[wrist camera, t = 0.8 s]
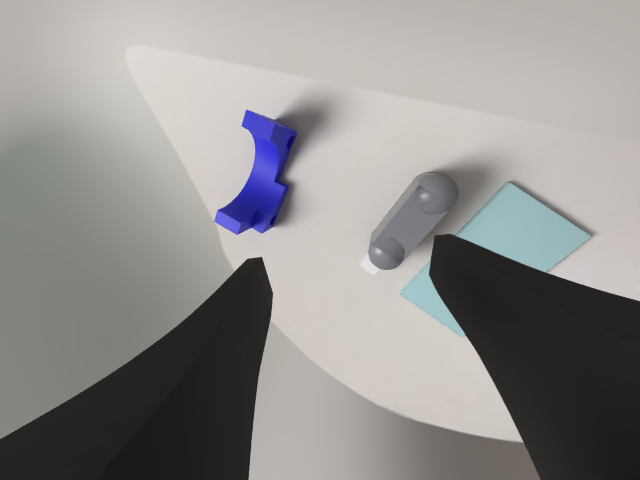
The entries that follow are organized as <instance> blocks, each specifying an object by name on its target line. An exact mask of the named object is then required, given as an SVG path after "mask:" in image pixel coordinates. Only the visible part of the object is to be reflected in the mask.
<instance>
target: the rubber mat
mask: <svg viewBox="0 0 640 480" xmlns="http://www.w3.org/2000/svg"><path fill="white" fill-rule="evenodd" d="M455 236H458V237H460V238H463V239H465V240H467V241H470V242H472V243H475V244H477V245H479V246H482V247H484V248H486V249H488V250H491V251H493V252H495V253H498V254H500V255H502V256H505V257H507V258H510V259H512V260H515V261H517V262H520V263H522V264H525V265H527V266H530V267H532V268H535V269H538V270H540V271H543V272H547V271H548V270H549V269H551V268H552V267H553V266H554V265H556V264H557V263H558V262H560V261H561V260H562V259H563V258H565V257H566V256H567V255H569V254H570V253H571V252H572V251H574V250H575V249H576V248H578V247H579V246H580V245H581V244H583V243H584V242H585V241H587V240H588V239H589V238H590V237H592V236H590V235H589V234H587V233H586V232H584V231H582V230H581V229H579V228H578V227H576V226H575V225H573V224H572V223H570V222H569V221H567V220H566V219H564V218H563V217H561V216H560V215H558V214H557V213H555V212H554V211H552V210H551V209H549V208H548V207H546V206H545V205H543V204H542V203H540V202H539V201H537V200H536V199H534V198H533V197H531V196H529V195H528V194H526V193H525V192H523V191H522V190H520V189H519V188H517V187H516V186H514V185H513V184H511V183H509V182H507V183H506V184H505V185H504V186H503V187H502V188H501V189H500V190H499V191H498V192H497V193H496V194H495V195H494V196H493V197H492V198H491V199H490V200H489V201H488V202H487V203H486V204H485V205H484V206H483V207H482V208H481V209H480V210H479V211H478V212H477V213H476V214H475V215H474V216H473V217H472V219H471V220H470V221H469V222H468V223H467V224H466V225H465V226H464V227H463V228H462V229H461V230H460V231H459V232H458V233H457V234H456V235H455ZM430 262H431V261H430ZM430 262H429V263H428V264H427V265H426V266H425V267H424V268H423V269H422V270H421V271H420V272H419V273H418V274H417V275H416V276H415V277H414V278H413V279H412V280H411V281H410V282H409V283H408V284H407V285H406V286H405V287H404V288H403V289H402V291H401V292H400V295H401V296H403V297H404V298H406V299H407V300H409V301H410V302H411V303H413V304H414V305H416V306H417V307H419V308H420V309H422V310H423V311H425V312H426V313H427V314H429V315H430V316H432V317H433V318H435V319H436V320H438V321H439V322H440V323H442V324H443V325H445V326H446V327H448V328H449V329H451V330H452V331H453V332H455V333H456V334H458V335H459V336H461V337H463V336H464V335H465V333H464V332H463V330H462V329H461V327H460V326H459V325H458V323H457V322H456V320H455V319H454V317H453V316H452V314H451V313H450V311H449V310H448V308H447V307H446V305H445V304H444V302H443V301H442V299H441V298H440V296H439V295H438V293H437V291H436V289H435V287H434V285H433V283H432V281H431V279H430V276H429V269H430Z"/></svg>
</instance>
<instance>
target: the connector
mask: <svg viewBox="0 0 640 480" xmlns="http://www.w3.org/2000/svg"><path fill="white" fill-rule="evenodd" d="M457 198H458V188H457V185H456V183H455V182H454V181H453V180H452V179H451V178H449V177H447V176H444V175H440V174H436V173H431V172H427V173H423V174H421V175H419V176H417V177H416V178H415V179H414V180H413V181H412V183H411V184H410V185H409V187H408V188H407V189H406V190H405V192H404V193H403V194H402V196H401V197H400V198H399V199H398V201H397V202H396V203H395V204H394V206H393V207H392V208H391V210H390V211H389V212H388V213H387V215H386V216H385V217H384V219H383V220H382V221H381V222H380V224H379V225H378V226H377V228H376V229H375V230H374V231H373V233H372V235H371V240H370V246H369V252H368V253H367V255H366V256H365V257H364V258H363V260H362V261H361V262H360V266H361V267H362V268H364V269H365V270H367V271H368V272H369V273H371V274H372V275H375V274H376V273H377V272H378V271H379V269H383V270H390V269H394V268H396V267H398V266H399V265H400V264H401V263H402V262H403V261H404V260H405V259H406V258H407V256H408V255H409V254H410V253H411V252H412V251H413V250H414V249H415V248H416V247H417V245H418V244H419V243H420V242H421V241H422V240H423V239H424V238H425V237H426V235H427V234H428V233H429V232H430V231H431V230H432V229H433V228H434V227H435V226H436V224H437V223H438V222H439V221H440V220H441V219H442V218H443V217H444V216H445V215H446V213H447V212H448V211H449V210H450V209H451V208H452V207H453V206H454V204H455V203H456V201H457Z"/></svg>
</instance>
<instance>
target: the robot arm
mask: <svg viewBox="0 0 640 480" xmlns="http://www.w3.org/2000/svg"><path fill="white" fill-rule="evenodd" d="M429 276H430V279H431V281H432V283H433V285H434V287H435V289H436V291H437V293H438V295H439V296H440V298H441V299H442V301H443V302H444V304H445V305H446V307H447V308H448V310H449V311H450V313H451V314H452V316H453V317H454V319H455V320H456V322H457V323H458V325H459V326H460V327H461V329H462V330H463V332H464V333H465V335H466V336H467V338H468V339H469V341H470V342H471V344H472V345H473V347H474V348H475V350H476V351H477V353H478V355H479V356H480V358H481V360H482V362H483V364H484V365H485V367H486V369H487V371H488V373H489V375H490V376H491V378H492V380H493V382H494V384H495V386H496V388H497V389H498V391H499V393H500V395H501V397H502V399H503V401H504V403H505V405H506V407H507V409H508V411H509V413H510V415H511V417H512V419H513V421H514V423H515V425H516V427H517V429H518V431H519V433H520V436H521V438H522V440H523V442H524V444H525V446H526V448H527V450H528V452H529V454H530V457H531V459H532V461H533V463H534V466H535V468H536V470H537V472H538V475H539V477H540V479H541V480H640V301H637V300H633V299H629V298H626V297H622V296H618V295H615V294H611V293H608V292H604V291H601V290H597V289H594V288H591V287H588V286H585V285H581V284H578V283H575V282H572V281H569V280H566V279H563V278H560V277H557V276H554V275H551V274H548V273H546V272H543V271H540V270H538V269H535V268H532V267H530V266H527V265H525V264H522V263H520V262H517V261H515V260H512V259H510V258H507V257H505V256H502V255H500V254H498V253H495V252H493V251H491V250H488V249H486V248H484V247H482V246H479V245H477V244H475V243H472V242H470V241H467V240H465V239H463V238H460V237H458V236H455V235H452V234H445V235H436V236H435V238H434V244H433V250H432V256H431V262H430V269H429ZM272 298H273V292H272V289H271V285H270V282H269V279H268V275H267V272H266V269H265V266H264V262H263V259H262V257H258V258H250V259H247V260H246V261H245V262H244V263H243V264H242V265H241V266H240V267H239V268H238V269H237V270H236V271H235V272H234V273H233V274H232V275H231V276H230V277H229V278H228V279H227V280H226V281H225V282H224V283H223V284H222V285H221V287H220V288H218V289H217V290H216V291H215V293H213V294H212V295H211V296H210V297H209V298H208V299H207V300H206V301H205V302H204V303H203V304H202V305H201V306H200V307H199V308H197V309H196V310H195V311H194V312H193V313H192V314H191V315H190V316H189V317H187V318H186V319H185V320H184V321H183V322H181V323H180V324H179V325H178V326H177V327H175V328H174V329H173V330H172V331H170V332H169V333H168V334H166V335H165V336H164V337H162V338H161V339H160V340H158V341H157V342H156V343H154V344H153V345H151V346H150V347H149V348H147V349H146V350H145V351H143V352H142V353H140V354H139V355H138V356H136V357H135V358H133V359H132V360H131V361H129V362H128V363H126V364H125V365H123V366H122V367H120V368H119V369H117V370H116V371H114V372H113V373H111V374H110V375H108V376H107V377H105V378H103V379H102V380H100V381H99V382H97V383H96V384H94V385H92V386H91V387H89V388H88V389H86V390H84V391H83V392H81V393H79V394H78V395H76V396H75V397H73V398H71V399H70V400H68V401H67V402H65V403H63V404H61V405H59V406H58V407H56V408H54V409H52V410H51V411H49V412H47V413H45V414H44V415H42V416H40V417H38V418H37V419H35V420H33V421H32V422H30V423H28V424H26V425H25V426H23V427H21V428H19V429H18V430H16V431H14V432H12V433H11V434H9V435H7V436H5V437H4V438H2V439H0V480H248V477H249V466H250V453H251V440H252V430H253V420H254V409H255V401H256V392H257V383H258V376H259V371H260V365H261V361H262V356H263V351H264V347H265V342H266V337H267V333H268V328H269V323H270V318H271V311H272Z"/></svg>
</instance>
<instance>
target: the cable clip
mask: <svg viewBox="0 0 640 480" xmlns="http://www.w3.org/2000/svg"><path fill="white" fill-rule="evenodd" d="M242 127H244V128H246V129H248V130H249V131H250V132H251V134H252V136H253V138H254V142H255V160H254V165H253V168H252V171H251V174H250V177H249V179H248V181H247V183H246V184H245V186H244V188H243V189H242V191H241V192H240V193H239V195H238V196H237V197H236V198H235V199H234V200H233V201H232V202H231V203H230V204H228V205H227V206H225V207H224V208H222V209H219V210H218V211H217V214H216V218H215V221H214V222H216V223H218V224H219V225H221V226H223V227H224V228H226V229H228V230H230V231H231V232H233V233H235V234H237V235H238V234H240V233H242V232H244V231H246V230H248V229H250V228H253V229H255V230H257V231H258V232H260V233H264V232H265V231H267V230H269V229H270V228H272V227H273V224H274V222H275V219H276V217H277V214H278V212H279V209H280V207H281V205H282V202H283V200H284V197H285V195H286V192H287V190H288V187H289V186H287V185H285V184H283V183H282V182H280V181H278V180H279V178H280V175H281V173H282V170H283V167H284V165H285V162H286V160H287V157H288V154H289V152H290V149H291V147H292V144H293V141H294V139H295V136H296V134H297V132H296V131H294V130H293V129H291V128H289V127H287V126H285V125H283V124H281V123H279V122H277V121H276V120H273V119H271V118H268V117H265V116H262V115H260V114H257V113H254V112H252V111H249V110H246V113H245V116H244V120H243V123H242Z"/></svg>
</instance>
